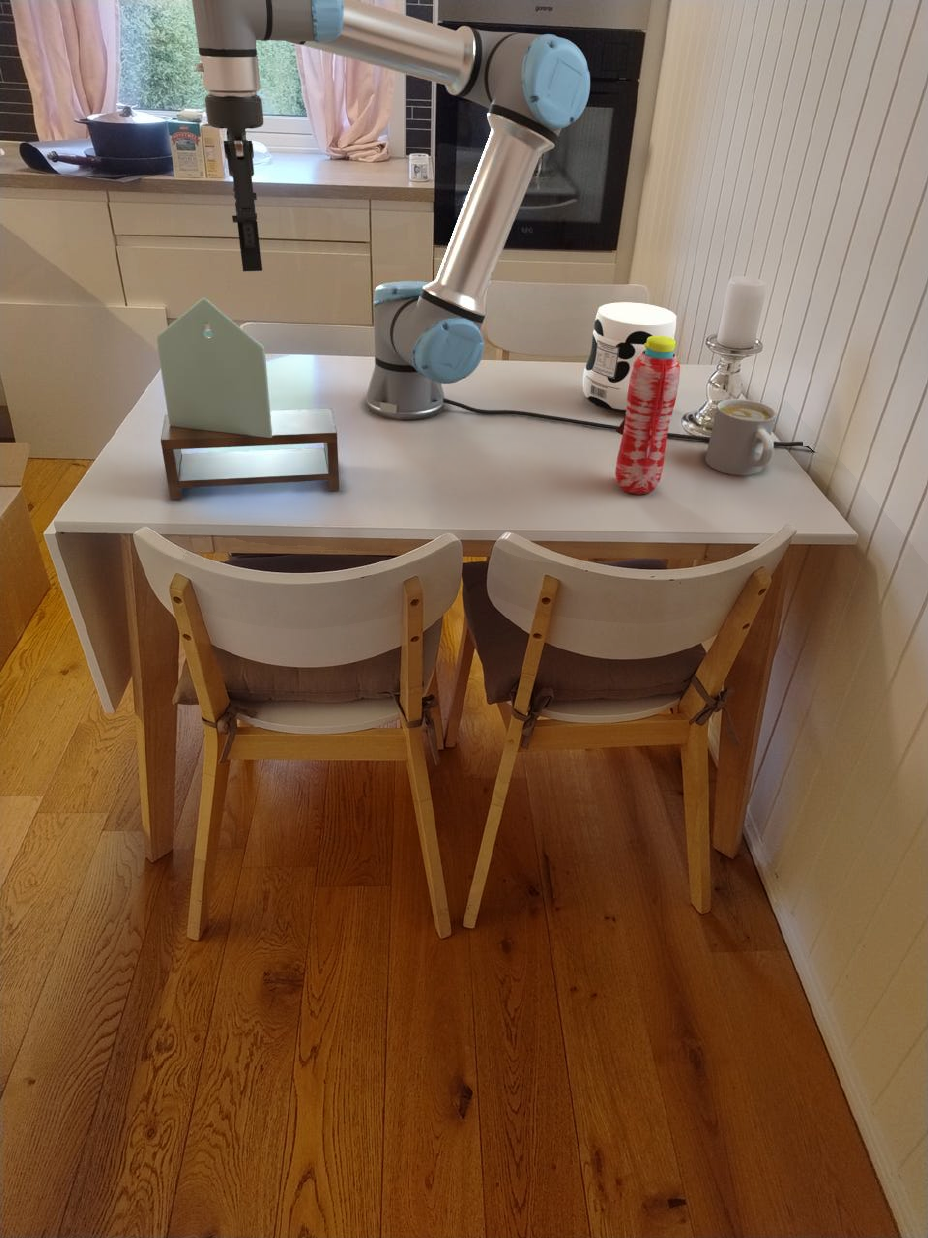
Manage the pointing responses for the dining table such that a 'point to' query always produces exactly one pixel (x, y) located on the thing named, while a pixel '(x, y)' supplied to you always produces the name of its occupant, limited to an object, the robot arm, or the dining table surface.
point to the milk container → (621, 349)
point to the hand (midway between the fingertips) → (250, 258)
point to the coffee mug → (741, 437)
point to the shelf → (254, 454)
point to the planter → (214, 374)
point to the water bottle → (647, 416)
